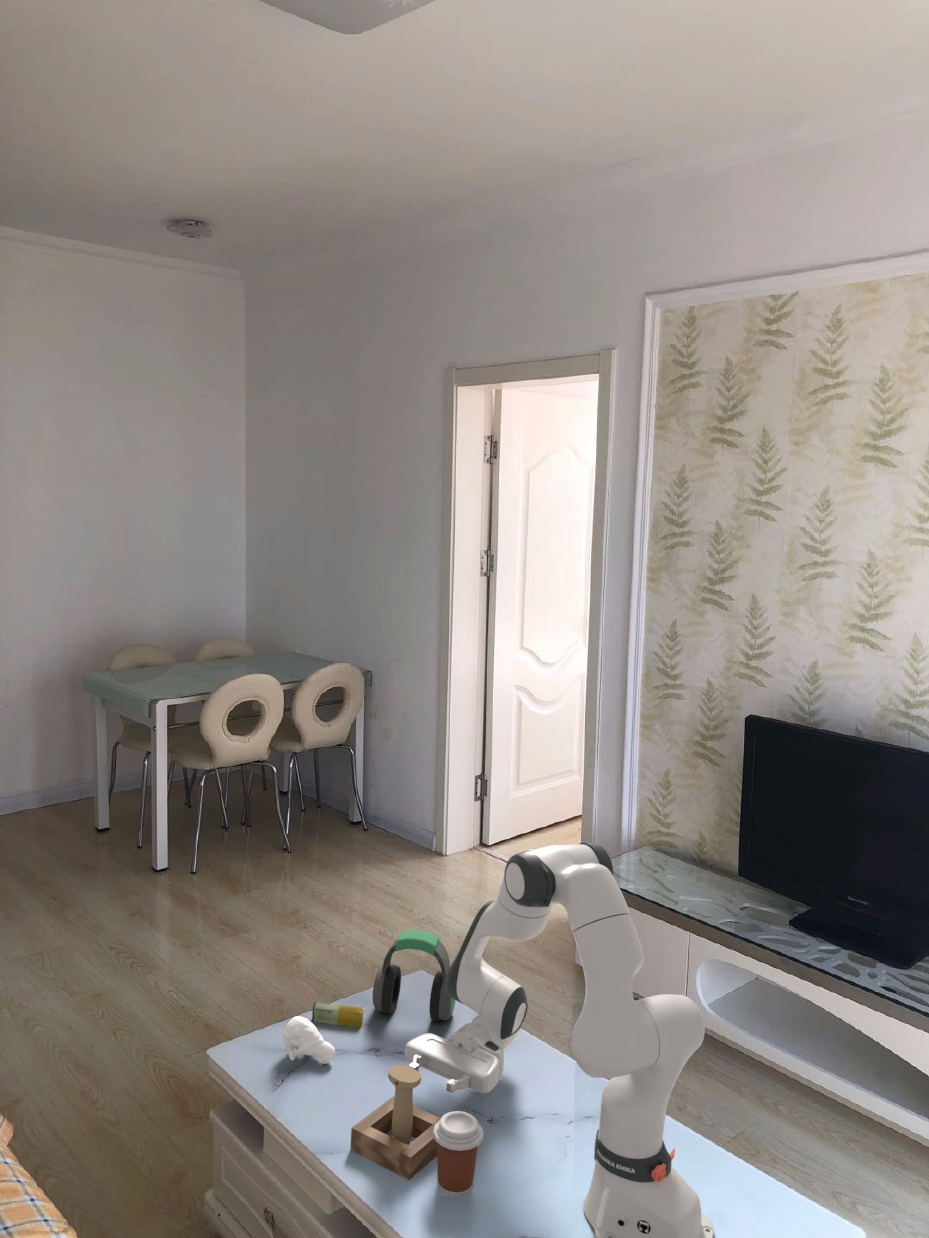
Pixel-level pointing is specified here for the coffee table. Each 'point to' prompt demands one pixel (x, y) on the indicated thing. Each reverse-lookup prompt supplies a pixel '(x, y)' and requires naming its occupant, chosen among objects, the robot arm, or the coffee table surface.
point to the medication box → (337, 1014)
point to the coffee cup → (457, 1151)
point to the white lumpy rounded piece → (306, 1040)
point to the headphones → (390, 976)
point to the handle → (403, 1101)
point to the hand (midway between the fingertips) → (429, 1079)
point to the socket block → (395, 1141)
